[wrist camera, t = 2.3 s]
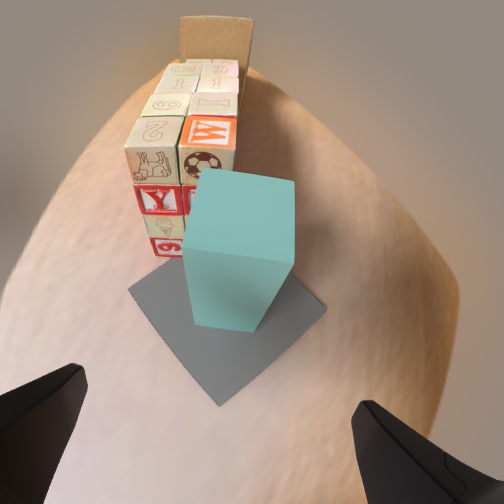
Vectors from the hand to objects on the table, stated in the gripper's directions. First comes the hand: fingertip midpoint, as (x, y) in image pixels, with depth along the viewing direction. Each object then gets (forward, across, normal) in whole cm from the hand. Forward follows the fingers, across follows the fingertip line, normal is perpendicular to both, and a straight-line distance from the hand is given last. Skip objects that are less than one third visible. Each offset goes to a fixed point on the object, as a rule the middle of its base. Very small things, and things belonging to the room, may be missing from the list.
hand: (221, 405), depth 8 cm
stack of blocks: (+25, +5, -6) cm, 26 cm away
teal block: (+15, 0, +4) cm, 15 cm away
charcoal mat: (+15, 0, +4) cm, 16 cm away
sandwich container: (+39, +7, -19) cm, 44 cm away
